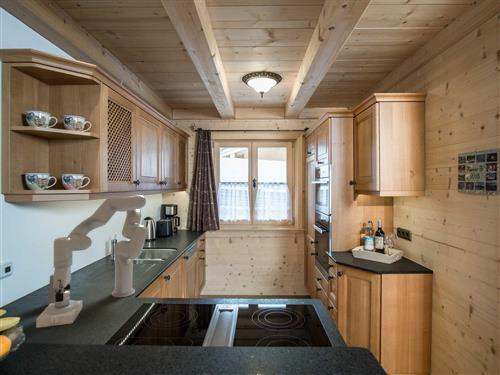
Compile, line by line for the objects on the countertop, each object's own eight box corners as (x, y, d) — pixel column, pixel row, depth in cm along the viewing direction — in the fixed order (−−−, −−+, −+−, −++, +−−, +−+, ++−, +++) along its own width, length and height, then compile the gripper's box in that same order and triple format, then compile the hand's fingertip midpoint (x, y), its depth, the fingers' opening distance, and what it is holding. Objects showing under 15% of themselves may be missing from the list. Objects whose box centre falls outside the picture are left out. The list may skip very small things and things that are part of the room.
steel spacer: (57, 303, 129) (57, 290, 129) (71, 302, 131) (71, 288, 131) (52, 309, 123) (52, 294, 123) (67, 307, 125) (67, 293, 125)
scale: (50, 311, 131) (50, 301, 131) (82, 307, 136) (82, 298, 136) (35, 328, 116) (35, 317, 116) (71, 323, 120) (72, 313, 120)
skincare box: (47, 304, 138) (47, 275, 138) (60, 299, 145) (61, 271, 145) (57, 307, 135) (58, 277, 135) (71, 302, 142) (71, 273, 142)
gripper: (60, 258, 134) (60, 291, 134) (46, 269, 118) (46, 306, 118) (77, 257, 137) (77, 289, 137) (66, 267, 120) (65, 304, 120)
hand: (63, 297), depth 127 cm, fingers open, 9 cm apart
